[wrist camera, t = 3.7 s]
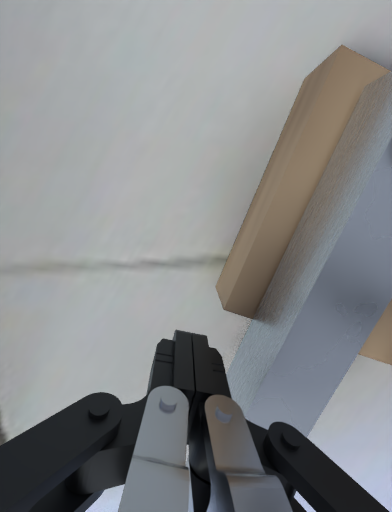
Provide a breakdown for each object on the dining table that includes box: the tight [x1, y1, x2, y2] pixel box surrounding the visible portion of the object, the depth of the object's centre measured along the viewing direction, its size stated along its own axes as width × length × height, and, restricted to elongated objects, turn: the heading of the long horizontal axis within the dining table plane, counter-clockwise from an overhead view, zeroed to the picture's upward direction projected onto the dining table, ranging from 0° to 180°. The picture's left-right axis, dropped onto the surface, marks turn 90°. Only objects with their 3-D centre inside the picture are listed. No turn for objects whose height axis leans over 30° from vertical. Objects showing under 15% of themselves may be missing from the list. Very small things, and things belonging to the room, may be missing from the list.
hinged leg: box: [226, 71, 392, 438], centre depth 10 cm, size 17×3×4 cm, turn 159°
